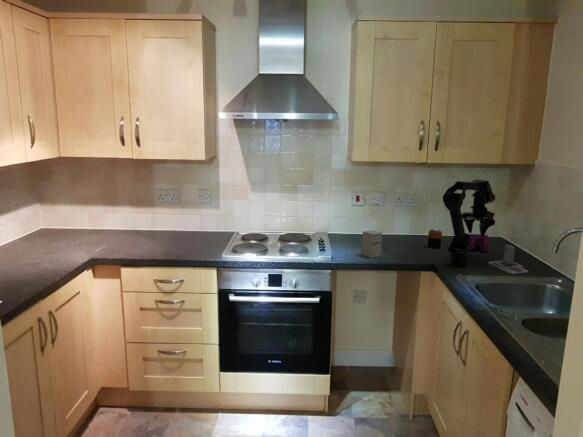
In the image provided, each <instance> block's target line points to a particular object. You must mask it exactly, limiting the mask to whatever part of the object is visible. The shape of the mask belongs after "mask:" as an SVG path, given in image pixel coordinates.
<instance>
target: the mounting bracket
mask: <svg viewBox="0 0 583 437" xmlns="http://www.w3.org/2000/svg"><path fill="white" fill-rule="evenodd" d="M469 234H470V239H471V249H470V252H472V251H474V250H475V246H476V245H479V248H480V251H481V252H488V250H489V234H485V235H484V237H481V234H480V233H479V234H476V233H469Z"/></svg>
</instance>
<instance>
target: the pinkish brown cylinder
mask: <svg viewBox="0 0 583 437" xmlns="http://www.w3.org/2000/svg"><path fill="white" fill-rule="evenodd" d="M361 237H362V238H361V239H362V240H361V241H362V242H361V255H362V256H364V257H367V258H369V259H371V258H376V257H380V256H381V255H382V242H383V233H382V232H381V231H377V230H374V229H371V230H365V231H362V236H361Z"/></svg>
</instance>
